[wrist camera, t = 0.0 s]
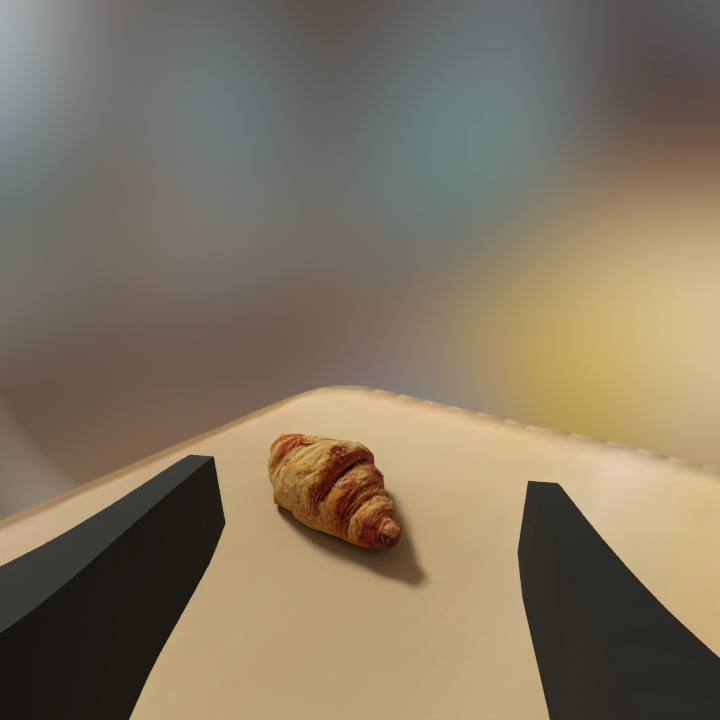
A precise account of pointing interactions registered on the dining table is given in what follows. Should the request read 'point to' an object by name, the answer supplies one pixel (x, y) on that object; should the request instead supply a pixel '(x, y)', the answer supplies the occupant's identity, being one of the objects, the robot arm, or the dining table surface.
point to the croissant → (333, 489)
